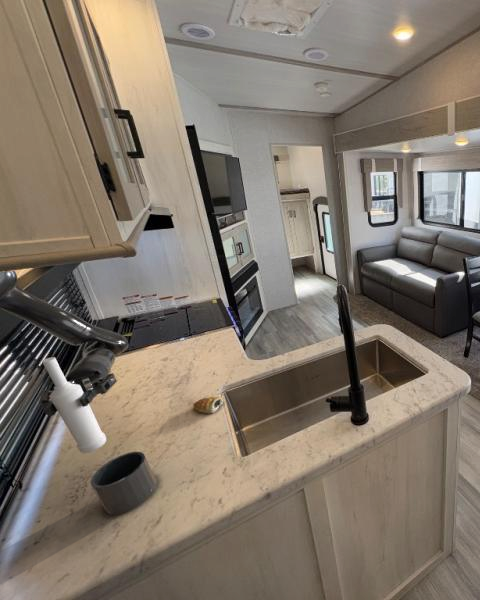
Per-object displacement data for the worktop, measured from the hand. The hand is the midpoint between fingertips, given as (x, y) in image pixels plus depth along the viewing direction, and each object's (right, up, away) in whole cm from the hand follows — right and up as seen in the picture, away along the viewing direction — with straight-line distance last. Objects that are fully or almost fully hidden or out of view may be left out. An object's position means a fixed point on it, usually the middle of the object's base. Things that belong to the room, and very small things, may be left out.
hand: (66, 407), depth 70 cm
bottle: (-1, -12, +7) cm, 14 cm away
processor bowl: (+8, -25, +8) cm, 27 cm away
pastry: (+9, -14, +39) cm, 42 cm away
